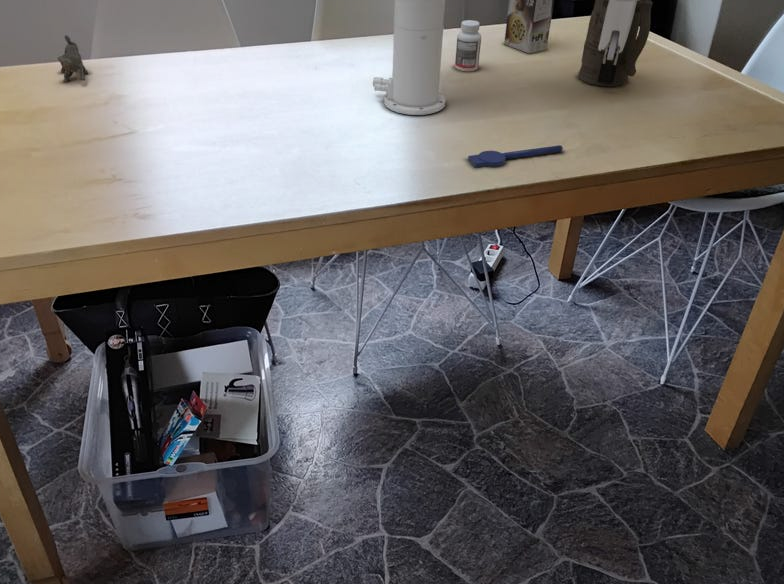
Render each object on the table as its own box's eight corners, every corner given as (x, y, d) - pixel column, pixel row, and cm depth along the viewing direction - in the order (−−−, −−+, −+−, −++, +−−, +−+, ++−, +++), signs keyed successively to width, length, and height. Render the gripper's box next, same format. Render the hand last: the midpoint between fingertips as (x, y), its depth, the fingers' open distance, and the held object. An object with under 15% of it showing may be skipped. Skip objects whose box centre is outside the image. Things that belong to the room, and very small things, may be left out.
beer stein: (565, 74, 163) (588, -23, 149) (598, 66, 168) (623, -29, 154) (616, 100, 154) (646, 0, 140) (650, 90, 159) (682, -8, 145)
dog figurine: (61, 69, 162) (52, 34, 157) (88, 67, 163) (80, 32, 159) (59, 88, 153) (50, 52, 149) (88, 86, 155) (79, 50, 150)
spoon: (477, 169, 127) (477, 163, 126) (465, 158, 130) (466, 151, 129) (568, 156, 131) (569, 150, 130) (555, 146, 134) (556, 139, 134)
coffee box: (547, 49, 176) (559, -24, 166) (528, 54, 174) (539, -20, 163) (521, 39, 182) (531, -32, 172) (502, 44, 179) (511, -29, 169)
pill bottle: (461, 62, 169) (466, 17, 162) (482, 67, 166) (487, 21, 160) (450, 68, 165) (454, 23, 159) (470, 73, 163) (475, 27, 157)
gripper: (610, -23, 148) (591, 68, 160) (603, -5, 138) (583, 91, 150) (648, -20, 147) (626, 73, 158) (643, -1, 136) (620, 96, 148)
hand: (605, 81), depth 154 cm, fingers closed
